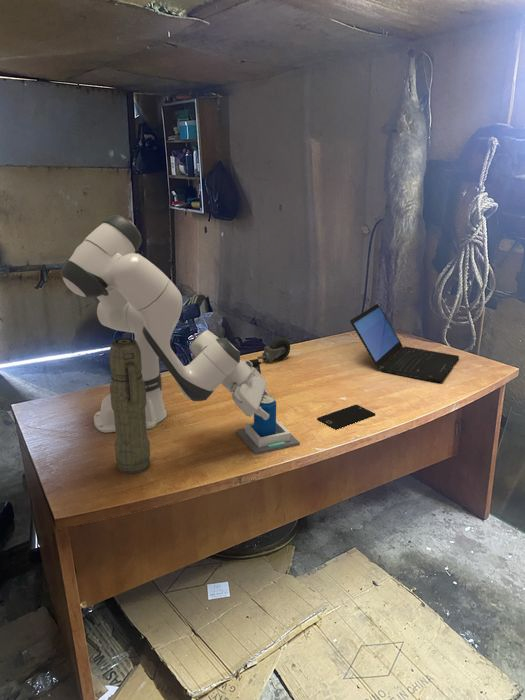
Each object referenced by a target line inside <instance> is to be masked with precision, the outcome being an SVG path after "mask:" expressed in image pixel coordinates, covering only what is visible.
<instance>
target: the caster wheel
mask: <svg viewBox="0 0 525 700" xmlns="http://www.w3.org/2000/svg"><path fill="white" fill-rule="evenodd" d="M290 352H291V344H290V342H289V341H288V340H287V339H285V338H283V337H276V338H275V339H273V340H271V343H270V344H269V345H268V346H264V349H263V353H262V355H259V356H257V357H256V359H258V360H262V361H263V362H266V363H268V364H273V361H274V360H276V361H282V360H285V359H286V358H287V357H288V356H289V354H290Z"/></svg>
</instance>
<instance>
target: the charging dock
mask: <svg viewBox="0 0 525 700" xmlns="http://www.w3.org/2000/svg"><path fill="white" fill-rule="evenodd" d="M236 434H237V435H238V437H240V438H241V440H242V441H243V442H244V443H245V445H246V446H247V447H248V448H249V449H250V451H251V452H252V453H253V454H254V455H261V454H265V453H268V452H273V451H278V450H283V449H287V448H291V447H296V446H300V444H301V442H300V441H299V440H298V439H297V438H296V437H295V436H294V435H293V434H292V433H291V431H289V430H288V429H287V428H286V427H285V426H284V425H283V424H282V423H281V422H280V421H279V420H278V419H277V418H276V434H274V435H269V436H265V437H260V436H259V435H258V434H257V433H256V432H255V431H254V422H251V423H246V424H245V425H244V428H241V429H237V430H236Z"/></svg>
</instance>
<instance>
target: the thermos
mask: <svg viewBox="0 0 525 700" xmlns="http://www.w3.org/2000/svg"><path fill="white" fill-rule="evenodd" d="M108 353H109V368H110V373H111V378H110V380H111V382H110V385H109V394H110V396H111V406H112V409H113V411H114V419H115V430H116V432H115V442H114V451H115V460H116V467H117V469H118V471H119V472H121V473H122V474H128V475H129V474H132V475H133V474H138V473H142V472H144V471H146V470H147V469H148V468H149V467H150V466H151V460H150V457H151V446H150V445H151V444H150V440H149V438H148V435H147V434H148V433H147V432H148V431H147V429H146V416H145V406H146V404H147V403H146V388H145V383H144V381H143V379H142V373H141V370H142V365H141V352H140V349H139V346H138V344H137V342H136V341H135V339H133V338H130V337H123V338H117V339H116V340H113V341H112V342H111V344H110V348H109V352H108Z"/></svg>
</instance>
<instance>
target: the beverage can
mask: <svg viewBox="0 0 525 700" xmlns="http://www.w3.org/2000/svg"><path fill="white" fill-rule="evenodd" d="M259 406H260V407H261V409H263V410H264V411H267V412H268V413H269V414H270V416H269V418H268V419H267V420H264V419H263V418H262V417H260V416H258V415H256V414H255V413H254V414H253V423H254V431H255V432H256V433H257V434H258V435H259V436H260V437H265V436H269V435H274V434H276V419H277V401H276V399H275V396H273V395H270V394H269V395H263V396H262V399H261V402H260V405H259Z"/></svg>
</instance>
